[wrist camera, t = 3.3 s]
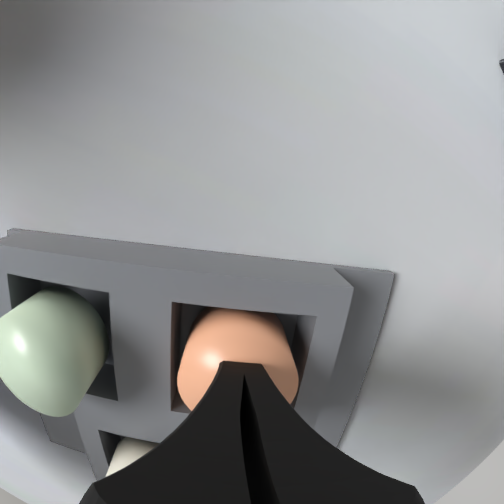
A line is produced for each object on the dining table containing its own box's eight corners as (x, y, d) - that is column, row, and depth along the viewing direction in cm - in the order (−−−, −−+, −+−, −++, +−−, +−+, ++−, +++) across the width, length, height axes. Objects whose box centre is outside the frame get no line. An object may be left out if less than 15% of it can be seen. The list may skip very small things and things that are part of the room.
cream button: (122, 472, 13) (110, 512, 10) (111, 427, 12) (92, 472, 9) (193, 485, 13) (189, 528, 10) (193, 442, 12) (187, 492, 9)
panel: (53, 436, 15) (36, 465, 12) (13, 228, 12) (-26, 240, 9) (320, 472, 16) (329, 506, 13) (389, 270, 13) (424, 293, 10)
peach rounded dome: (186, 376, 13) (177, 421, 10) (190, 292, 12) (178, 327, 9) (277, 384, 13) (286, 429, 10) (293, 303, 12) (309, 339, 9)
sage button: (37, 361, 11) (4, 397, 8) (24, 279, 10) (-21, 305, 7) (113, 382, 11) (89, 428, 8) (106, 294, 10) (69, 331, 7)
